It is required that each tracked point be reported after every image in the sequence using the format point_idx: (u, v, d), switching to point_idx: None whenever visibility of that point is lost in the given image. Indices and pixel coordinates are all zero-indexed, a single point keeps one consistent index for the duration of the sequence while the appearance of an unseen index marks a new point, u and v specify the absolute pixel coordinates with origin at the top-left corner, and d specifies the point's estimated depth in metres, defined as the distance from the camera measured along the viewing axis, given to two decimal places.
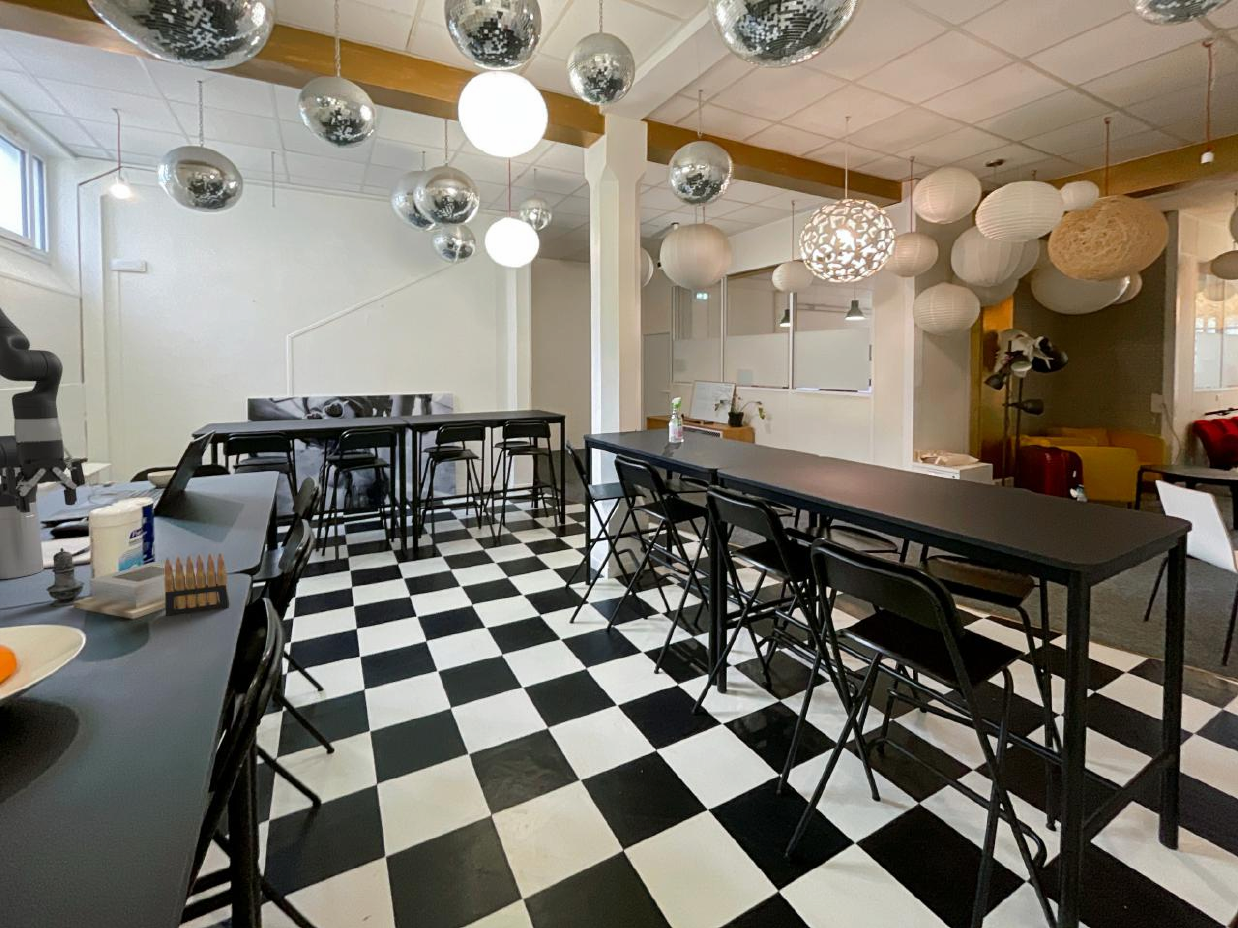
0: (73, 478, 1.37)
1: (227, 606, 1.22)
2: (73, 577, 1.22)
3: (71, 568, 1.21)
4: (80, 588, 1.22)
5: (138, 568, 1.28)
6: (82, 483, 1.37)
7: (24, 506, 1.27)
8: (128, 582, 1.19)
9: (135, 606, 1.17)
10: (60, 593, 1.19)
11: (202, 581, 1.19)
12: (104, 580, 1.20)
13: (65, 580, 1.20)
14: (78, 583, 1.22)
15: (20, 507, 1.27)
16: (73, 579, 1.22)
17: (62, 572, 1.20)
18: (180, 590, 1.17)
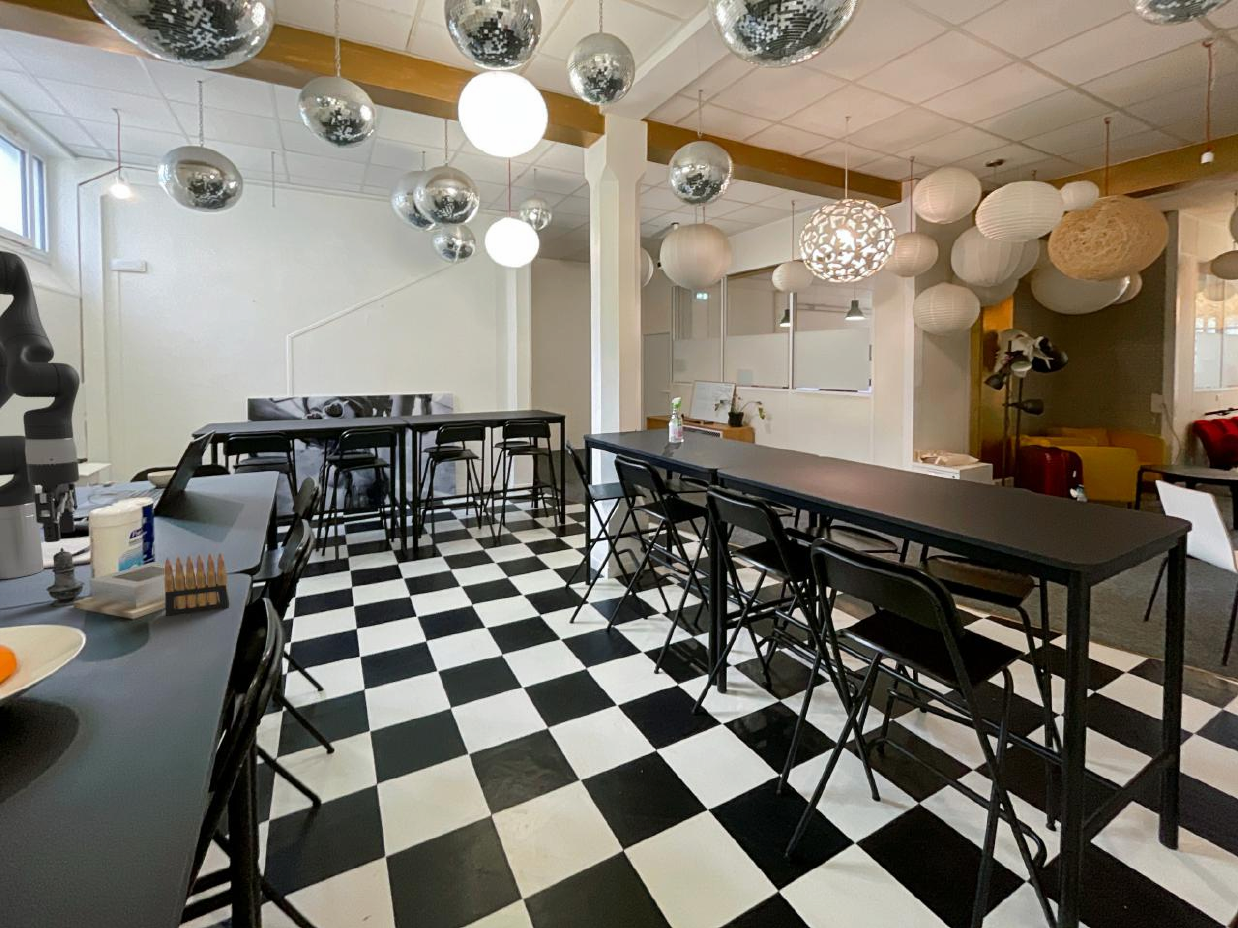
0: None
1: (227, 606, 1.22)
2: (73, 577, 1.22)
3: (71, 568, 1.21)
4: (80, 588, 1.22)
5: (138, 568, 1.28)
6: None
7: None
8: (128, 582, 1.19)
9: (135, 606, 1.17)
10: (60, 593, 1.19)
11: (202, 581, 1.19)
12: (104, 580, 1.20)
13: (65, 580, 1.20)
14: (78, 583, 1.22)
15: None
16: (73, 579, 1.22)
17: (62, 571, 1.20)
18: (180, 590, 1.17)
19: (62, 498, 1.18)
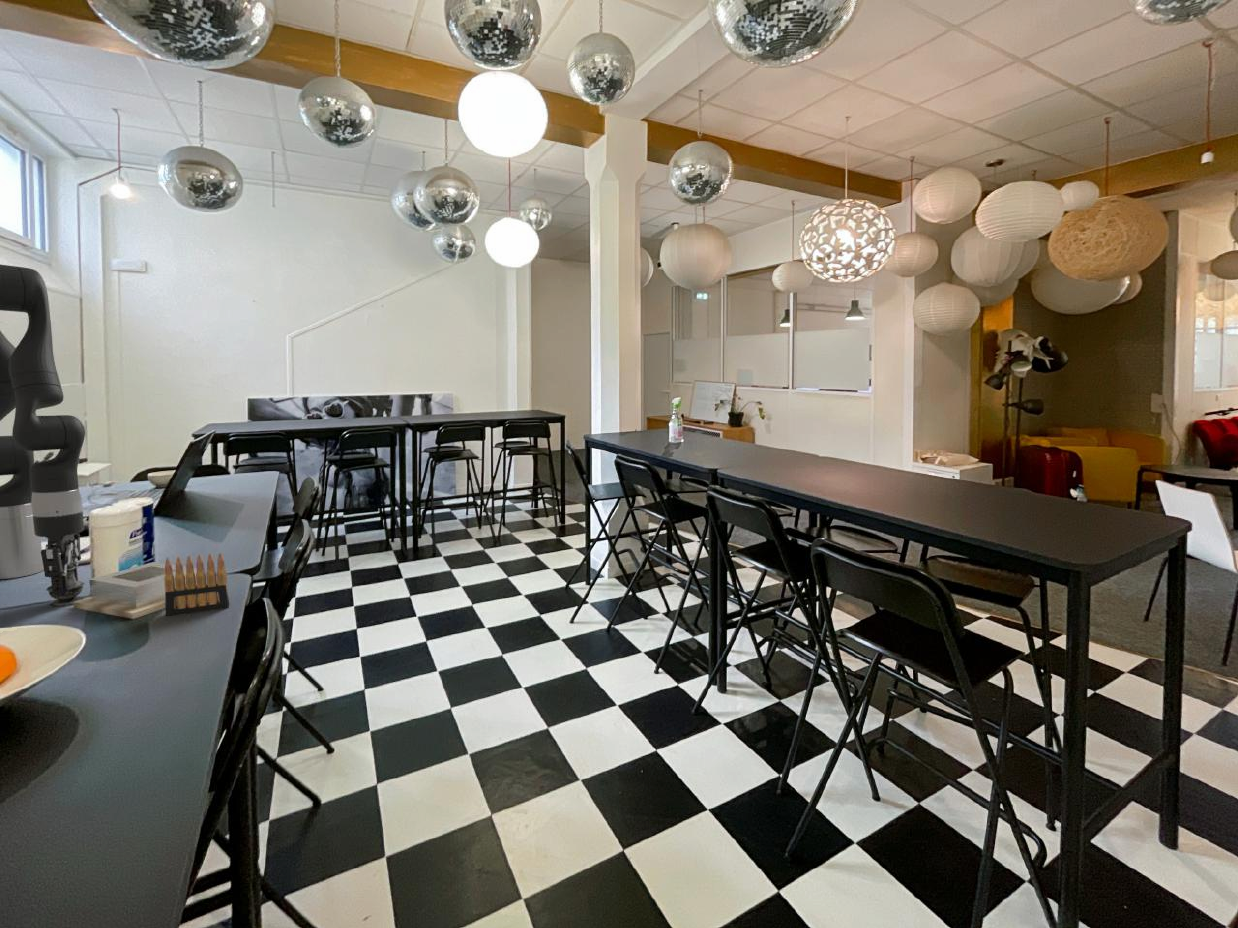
0: None
1: (227, 606, 1.22)
2: (73, 577, 1.22)
3: (71, 568, 1.21)
4: (80, 588, 1.22)
5: (138, 568, 1.28)
6: None
7: None
8: (128, 582, 1.19)
9: (135, 606, 1.17)
10: None
11: (202, 581, 1.19)
12: (104, 580, 1.20)
13: None
14: (78, 583, 1.22)
15: None
16: (73, 579, 1.22)
17: None
18: (180, 590, 1.17)
19: (67, 549, 1.19)
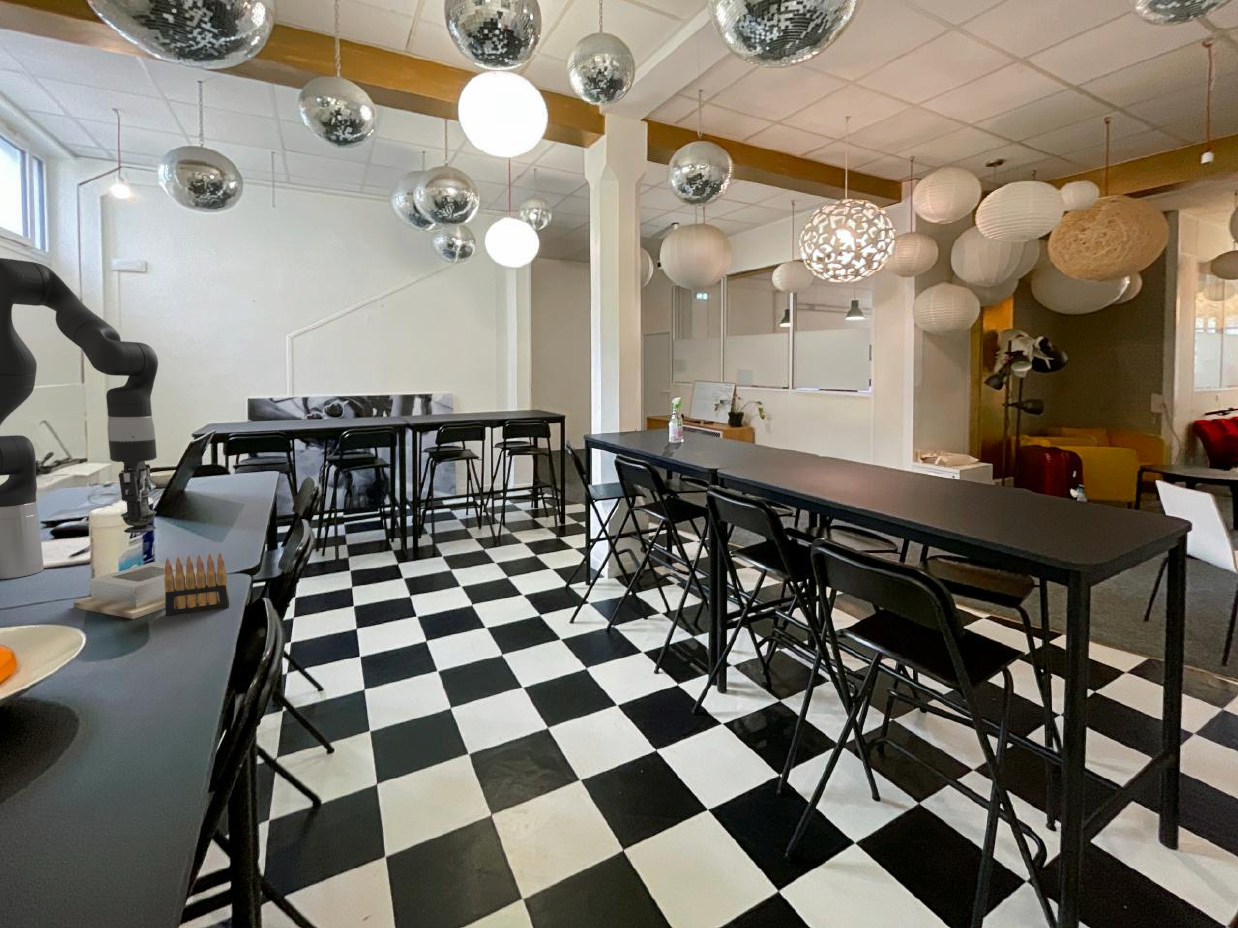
0: None
1: (227, 606, 1.22)
2: (146, 504, 1.23)
3: (144, 495, 1.22)
4: (153, 516, 1.23)
5: (138, 568, 1.28)
6: None
7: None
8: (128, 582, 1.19)
9: (135, 606, 1.17)
10: None
11: (202, 581, 1.19)
12: (104, 580, 1.20)
13: None
14: (150, 511, 1.23)
15: None
16: (146, 506, 1.23)
17: None
18: (180, 590, 1.17)
19: (142, 476, 1.20)
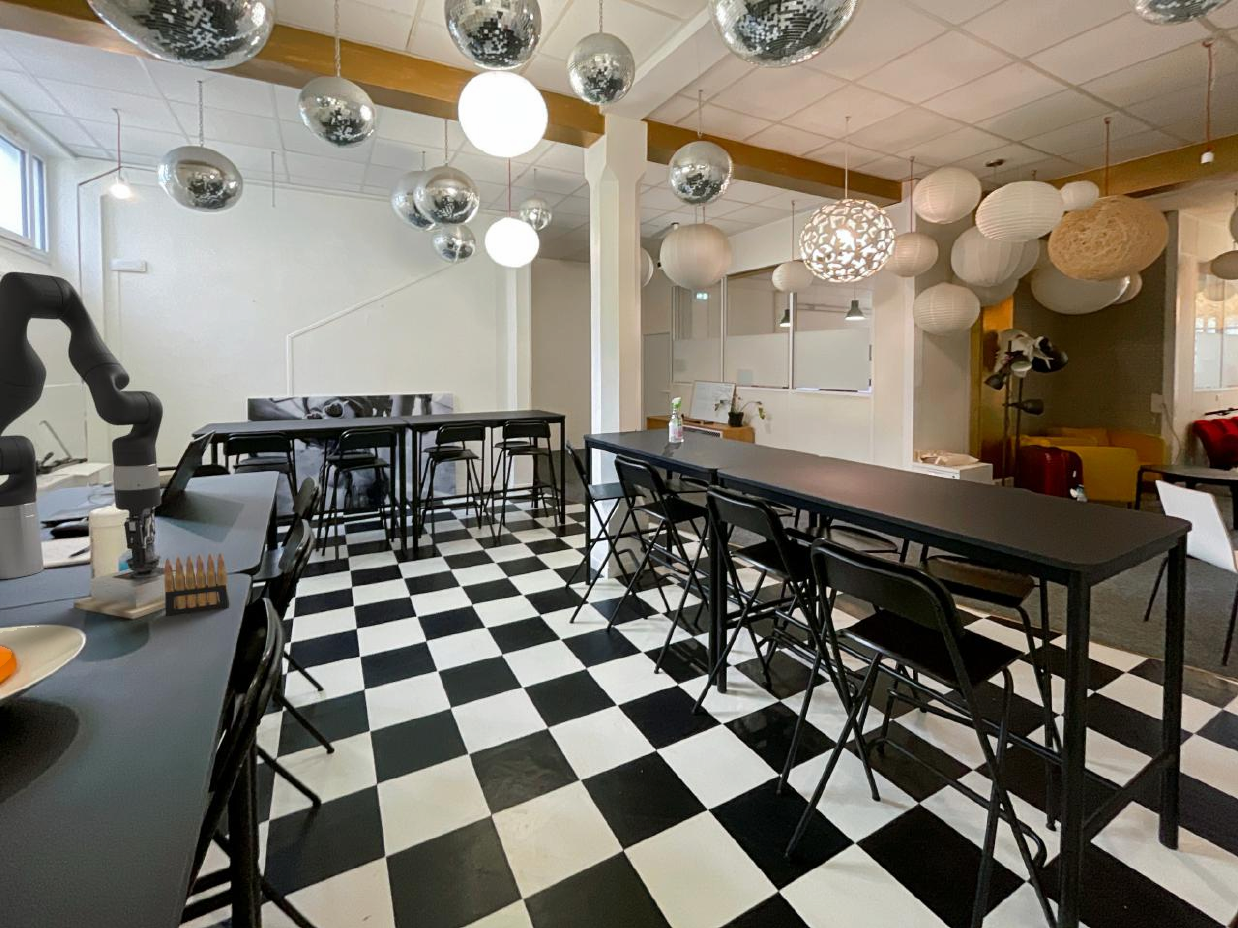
0: None
1: (227, 606, 1.22)
2: (151, 550, 1.24)
3: (149, 541, 1.24)
4: (157, 561, 1.25)
5: None
6: None
7: None
8: (128, 582, 1.19)
9: (135, 606, 1.17)
10: None
11: (202, 581, 1.19)
12: (104, 580, 1.20)
13: None
14: (155, 556, 1.25)
15: None
16: (151, 552, 1.24)
17: None
18: (180, 590, 1.17)
19: (146, 523, 1.22)
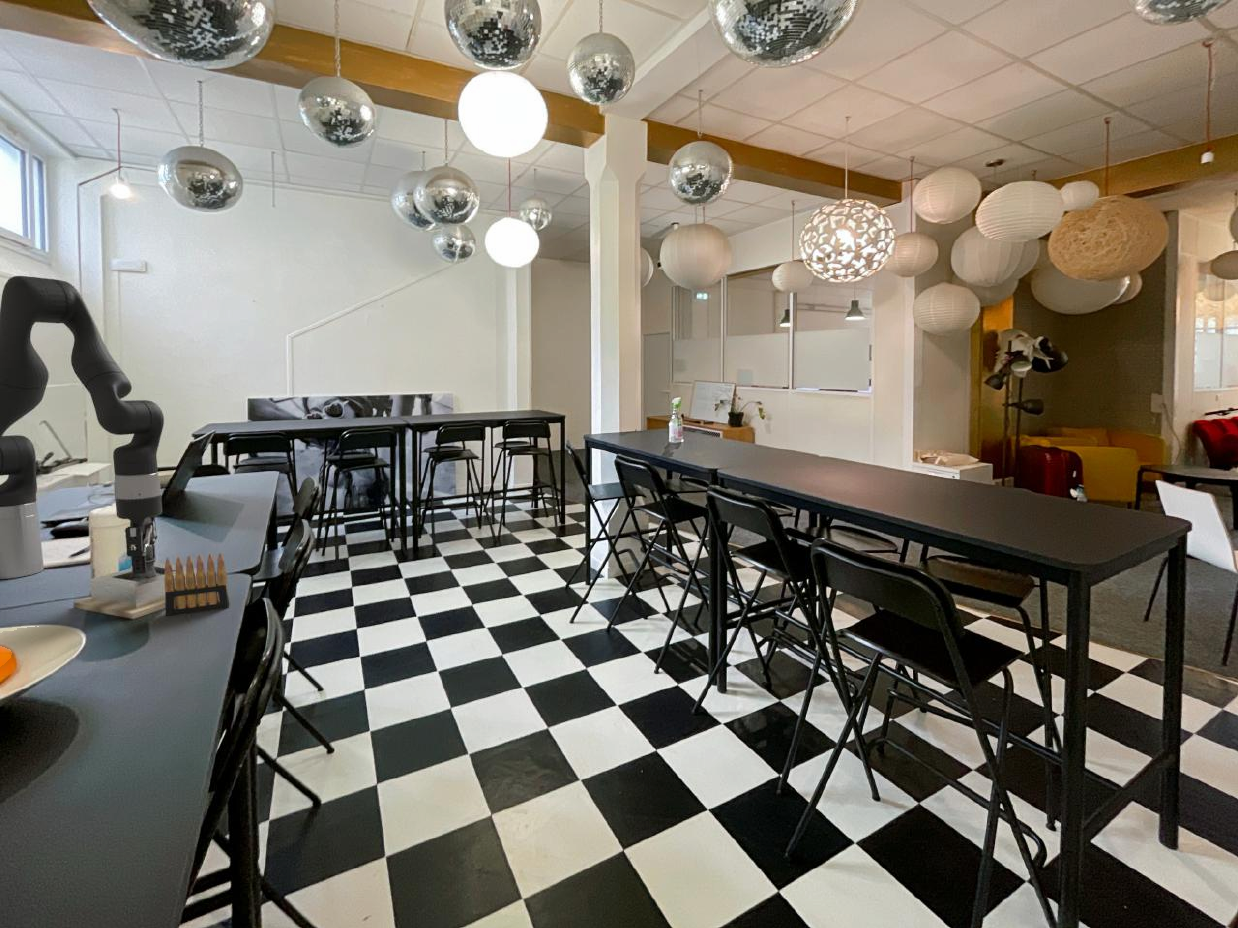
0: None
1: (227, 606, 1.22)
2: (153, 568, 1.25)
3: (152, 559, 1.24)
4: None
5: None
6: None
7: None
8: (128, 582, 1.19)
9: (135, 606, 1.17)
10: None
11: (202, 581, 1.19)
12: (104, 580, 1.20)
13: (146, 571, 1.24)
14: (157, 574, 1.26)
15: None
16: (153, 570, 1.25)
17: None
18: (180, 590, 1.17)
19: (147, 531, 1.22)
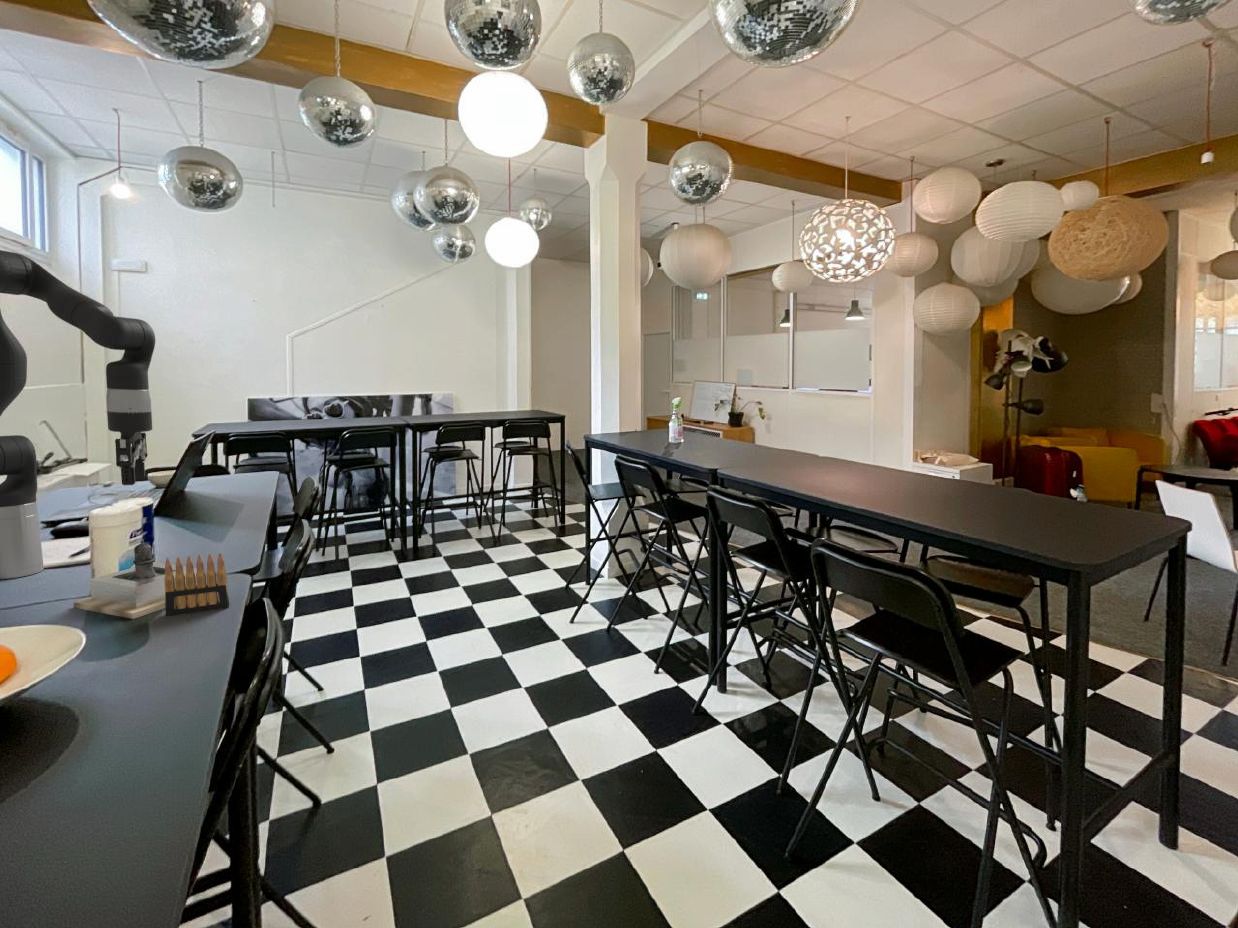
0: None
1: (227, 606, 1.22)
2: (152, 569, 1.25)
3: (150, 560, 1.24)
4: None
5: None
6: None
7: None
8: (128, 582, 1.19)
9: (135, 606, 1.17)
10: None
11: (202, 581, 1.19)
12: (104, 580, 1.20)
13: (145, 571, 1.24)
14: (156, 574, 1.26)
15: None
16: (152, 570, 1.25)
17: (142, 563, 1.23)
18: (180, 590, 1.17)
19: (137, 445, 1.27)
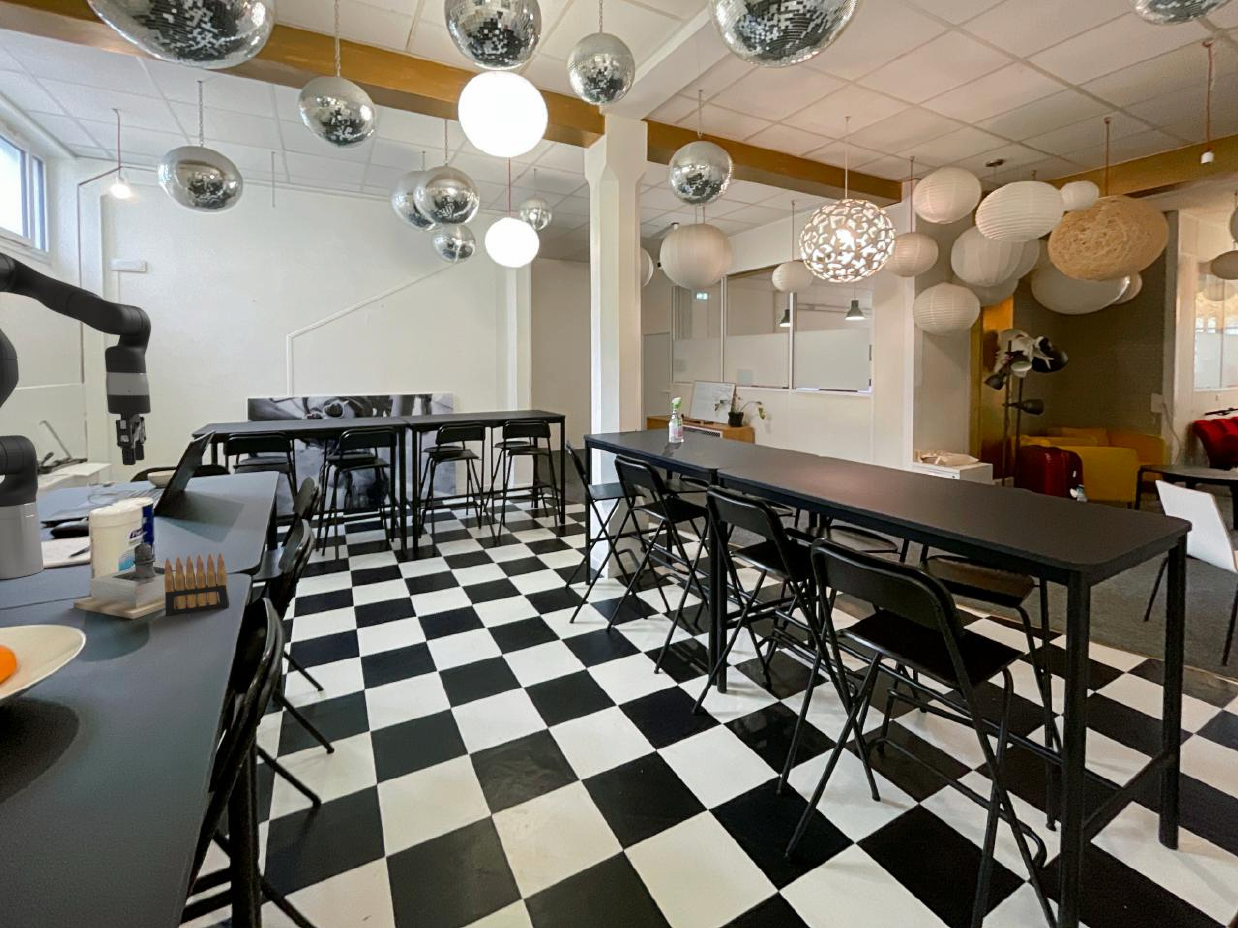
0: None
1: (227, 606, 1.22)
2: (152, 569, 1.25)
3: (150, 560, 1.24)
4: None
5: None
6: None
7: None
8: (128, 582, 1.19)
9: (135, 606, 1.17)
10: None
11: (202, 581, 1.19)
12: (104, 580, 1.20)
13: (145, 571, 1.24)
14: (157, 575, 1.25)
15: None
16: (152, 571, 1.25)
17: (142, 563, 1.23)
18: (180, 590, 1.17)
19: (137, 426, 1.31)
